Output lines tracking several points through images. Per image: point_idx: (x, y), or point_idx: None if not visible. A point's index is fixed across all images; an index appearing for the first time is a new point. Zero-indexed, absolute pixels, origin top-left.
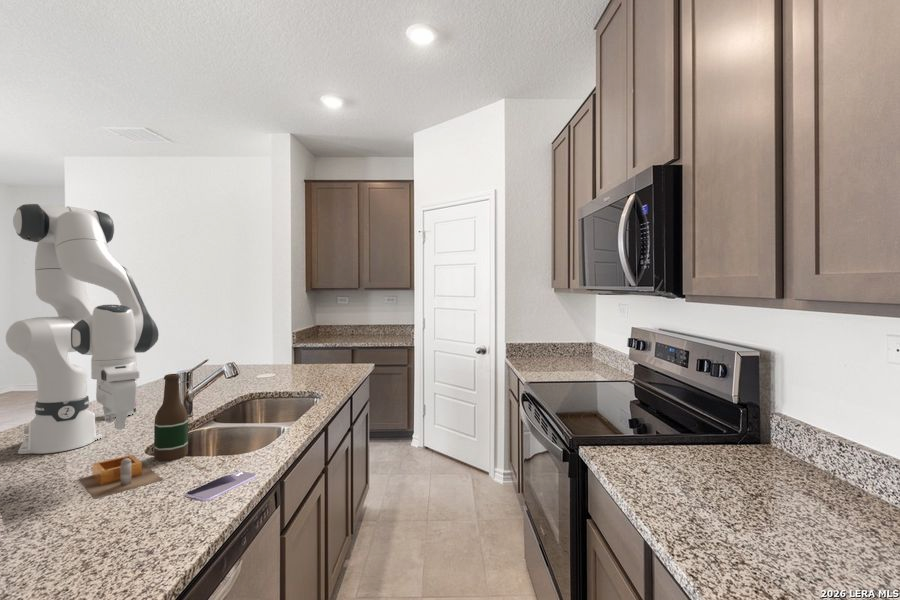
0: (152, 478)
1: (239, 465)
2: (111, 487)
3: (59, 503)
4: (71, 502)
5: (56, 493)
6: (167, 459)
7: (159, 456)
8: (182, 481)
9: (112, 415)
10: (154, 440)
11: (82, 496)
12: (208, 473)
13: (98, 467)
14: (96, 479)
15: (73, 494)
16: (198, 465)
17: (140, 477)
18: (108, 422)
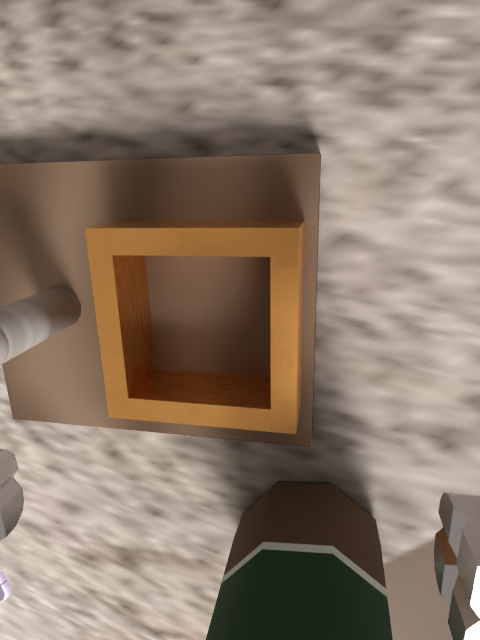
0: (58, 397)
1: (65, 628)
2: (58, 250)
3: (112, 45)
4: (88, 93)
5: (272, 43)
6: (247, 523)
7: (268, 515)
8: (37, 462)
9: (459, 633)
10: (327, 587)
11: (132, 145)
12: (57, 543)
13: (184, 237)
14: (206, 221)
15: (190, 114)
16: (168, 565)
17: (102, 370)
18: (441, 504)
